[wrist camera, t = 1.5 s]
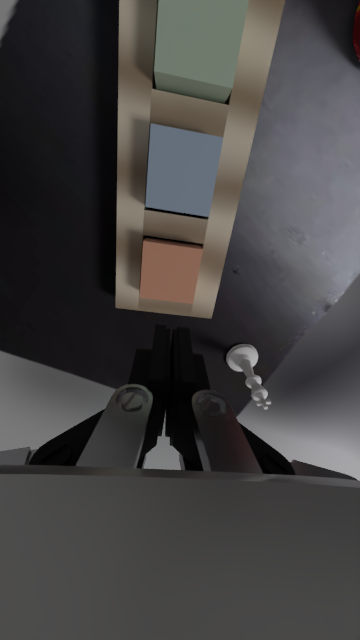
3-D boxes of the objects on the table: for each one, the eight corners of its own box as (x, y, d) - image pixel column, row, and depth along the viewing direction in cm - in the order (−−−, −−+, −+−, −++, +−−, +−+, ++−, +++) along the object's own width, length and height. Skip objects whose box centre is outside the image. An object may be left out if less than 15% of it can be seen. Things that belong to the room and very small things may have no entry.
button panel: (128, -58, 17) (120, -110, 14) (279, -17, 18) (298, -57, 15) (120, 298, 29) (115, 307, 27) (207, 308, 31) (211, 318, 28)
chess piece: (224, 346, 34) (244, 396, 25) (256, 341, 33) (288, 389, 25) (227, 371, 36) (245, 424, 27) (257, 366, 36) (286, 419, 27)
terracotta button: (146, 237, 24) (143, 240, 22) (199, 244, 25) (203, 249, 22) (142, 288, 27) (139, 297, 24) (190, 294, 27) (192, 304, 25)
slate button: (153, 134, 20) (150, 123, 18) (216, 146, 21) (223, 137, 18) (148, 206, 23) (145, 206, 20) (204, 215, 23) (209, 217, 21)
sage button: (163, -20, 16) (162, -65, 13) (242, 0, 17) (255, -39, 14) (156, 90, 19) (153, 71, 16) (224, 104, 19) (232, 88, 17)
